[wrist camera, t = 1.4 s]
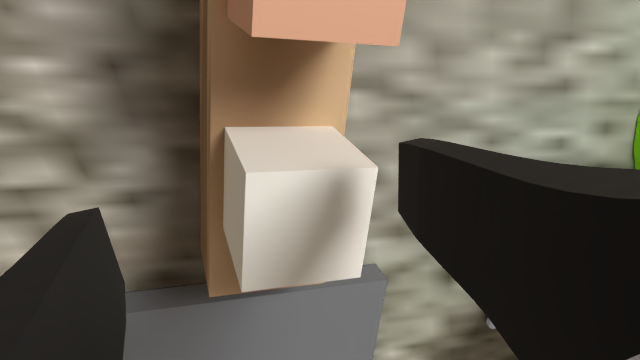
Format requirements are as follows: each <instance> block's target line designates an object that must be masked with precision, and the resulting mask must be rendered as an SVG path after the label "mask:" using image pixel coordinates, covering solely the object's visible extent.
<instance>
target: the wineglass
mask: <svg viewBox="0 0 640 360" xmlns="http://www.w3.org/2000/svg"><path fill="white" fill-rule="evenodd" d="M633 151H634V161H635V169H638V170H640V113H639V116H638V120H637V127H636V133H635V140H634V147H633Z"/></svg>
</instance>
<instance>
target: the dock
mask: <svg viewBox="0 0 640 360" xmlns="http://www.w3.org/2000/svg"><path fill="white" fill-rule="evenodd" d="M387 281H388V280H387V278H386V277H385V276H384V274H383V273H382V272H381V270H380V269H379V268H378V266H377V265H376V264H370V265H362V271H361V277H359V278H351V279H343V280H335V281H327V282H325V283H320V284H312V285H304V286H296V287H288V288H280V289H272V290H264V291H256V292H248V293H240V294H232V295H224V296H216V297H209V293H208V287H207V283H204V284H195V285H187V286H178V287H169V288H161V289H152V290H143V291H134V292H126V293H125V300H126V331H125V342H124V353H123V360H372V358H373V353H374V348H375V343H376V338H377V332H378V327H379V322H380V317H381V312H382V307H383V301H384V296H385V291H386V286H387Z"/></svg>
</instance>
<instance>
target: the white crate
mask: <svg viewBox="0 0 640 360" xmlns="http://www.w3.org/2000/svg"><path fill="white" fill-rule="evenodd" d="M377 172H378V167H377V166H376V165H375V164H374V163H373V162H372V161H370V160H369V159H368V158H367V157H366V156H365V155H364V154H363V153H362V152H361V151H359V150H358V149H357V148H356V147H355V146H354V145H353V144H352V143H351V142H349V141H348V140H347V139H346V138H345V137H344V136H343V135H342V134H341V133H339V132H338V131H337V130H336V129H335V128H334V127H333V126H298V127H225V142H224V208H223V229H224V232H225V236H226V239H227V243H228V246H229V250H230V253H231V257H232V260H233V264H234V267H235V271H236V274H237V278H238V282H239V285H240V289H241V292H249V291H256V290H264V289H272V288H280V287H288V286H296V285H304V284H312V283H320V282H327V281H335V280H343V279H351V278H359V277H361V271H362V265H363V259H364V253H365V247H366V240H367V234H368V228H369V222H370V216H371V209H372V203H373V197H374V191H375V185H376V179H377Z"/></svg>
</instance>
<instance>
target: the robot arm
mask: <svg viewBox="0 0 640 360" xmlns="http://www.w3.org/2000/svg"><path fill="white" fill-rule="evenodd" d="M398 212H399V213H400V215H401V216H402V218H403V219H404V221H405V222H406V224H407V226H408V227H409V229H410V230H411V231H412V233H413V234H414V236H415V237H416V238H417V240H418V241H419V242H420V243H421V244H422V245H423V246H424V248H425V249H426V250H427V251H428V252H429V253H430V254H431V255H432V256H433V257H434V258H435V259H436V261H437V262H438V263H439V264H440V265H441V266H442V267H443V268H444V269H445V270H446V271H447V272H448V273H449V274H450V275H451V276H452V277H453V279H454V280H455V281H456V282H457V283H458V284H459V285H460V286H461V287H462V288H463V289H464V290H465V291H466V292H467V293H468V294H469V296H470V297H471V298H472V299H473V300H474V301H475V302H476V303H477V305H478V306H479V307H480V308H481V309H482V310H483V312H484V313H485V314H486V316H487V317H488V318H487V321H486V324H487V326H488V327H489V328H491V329H497V330H498V332H499V333H500V334H501V336H502V337H503V338H504V340H505V341H506V342H507V344H508V345H509V347H510V348H511V349H512V351H513V352H514V354H515V355H516V357H517V358H518V359H519V360H640V170H638V169H616V168H599V167H587V166H578V165H569V164H560V163H553V162H546V161H539V160H534V159H528V158H522V157H517V156H512V155H507V154H502V153H497V152H492V151H488V150H483V149H479V148H474V147H470V146H465V145H460V144H456V143H451V142H446V141H440V140H434V139H424V138H419V139H414V140H410V141H405V142H400V143H399V188H398ZM125 331H126V300H125V284H124V280H123V277H122V274H121V271H120V268H119V265H118V262H117V259H116V256H115V253H114V251H113V248H112V245H111V242H110V239H109V236H108V233H107V230H106V227H105V224H104V221H103V218H102V216H101V213H100V210H99V207H98V208H93V209H89V210H84V211H79V212H75V213H70V214H67V215H66V216H65V217H63V218H62V219H61V220H60V221H59V222H58V223H57V224H56V225H54V226H53V227H52V228H51V229H50V230H49V231H48V232H47V233H46V234H45V235H44V236H43V237H42V238H41V239H40V240H39V241H38V242H37V243H36V244H35V245H34V246H33V247H32V248H31V249H30V250H29V251H28V252H27V253H26V254H25V255H24V256H22V257H21V258H20V259H19V260H18V261H17V262H16V263H15V264H14V265H13V266H12V267H11V268H10V269H9V270H7V271H6V272H5V273H4V274H3V275H2V276H1V277H0V360H123V353H124V342H125Z"/></svg>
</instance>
